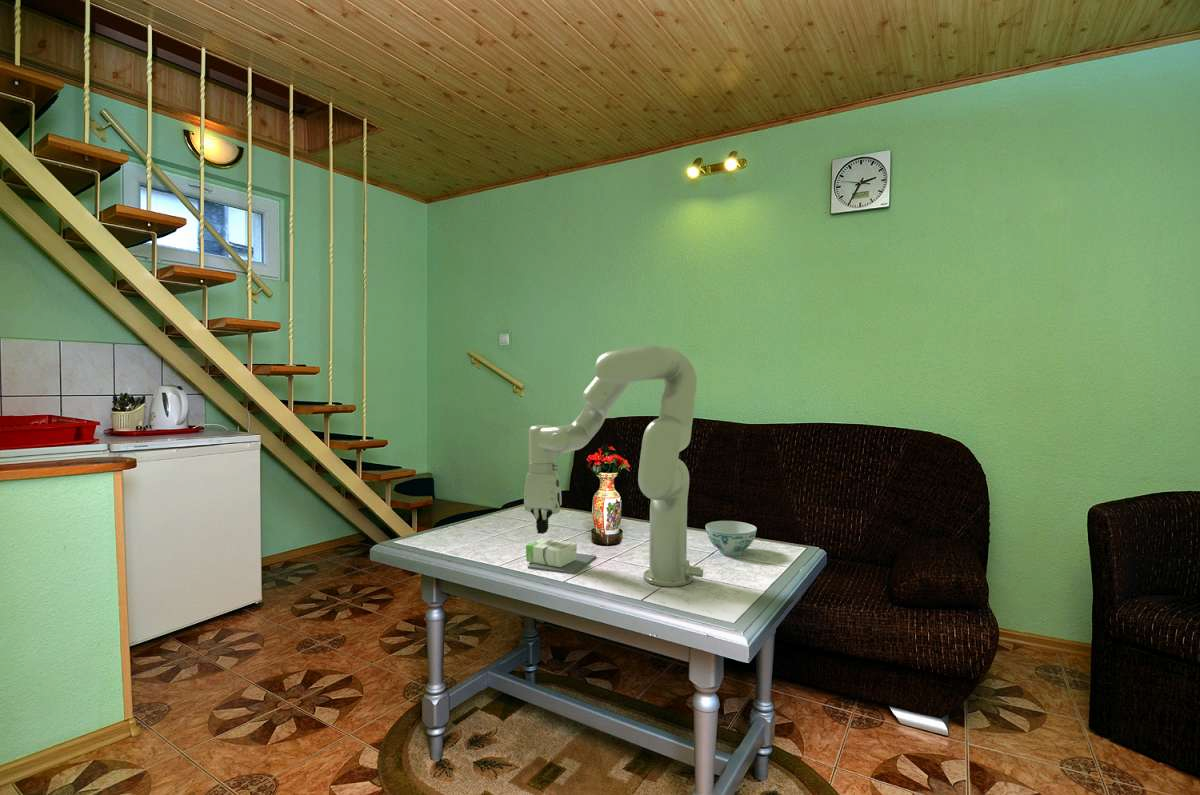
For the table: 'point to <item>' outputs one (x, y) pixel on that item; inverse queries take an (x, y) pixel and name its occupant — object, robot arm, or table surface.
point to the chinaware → (731, 536)
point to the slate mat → (568, 568)
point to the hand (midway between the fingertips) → (542, 532)
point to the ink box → (551, 552)
